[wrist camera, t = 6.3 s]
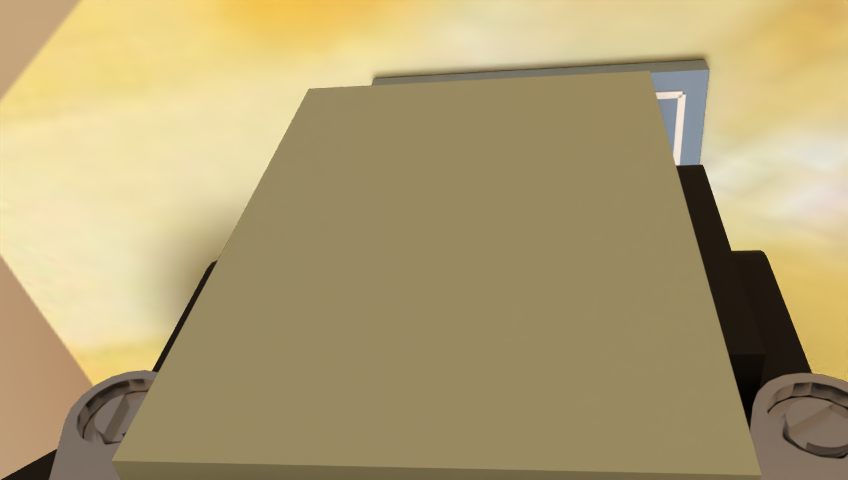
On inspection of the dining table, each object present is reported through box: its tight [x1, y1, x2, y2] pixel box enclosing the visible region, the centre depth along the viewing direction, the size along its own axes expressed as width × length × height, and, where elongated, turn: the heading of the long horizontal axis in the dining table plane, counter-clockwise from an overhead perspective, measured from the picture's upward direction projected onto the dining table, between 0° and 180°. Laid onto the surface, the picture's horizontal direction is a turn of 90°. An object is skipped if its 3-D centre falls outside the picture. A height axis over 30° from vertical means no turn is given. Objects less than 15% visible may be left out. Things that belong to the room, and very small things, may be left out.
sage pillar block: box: [112, 71, 762, 480], centre depth 10 cm, size 5×5×7 cm
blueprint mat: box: [371, 60, 709, 165], centre depth 37 cm, size 14×12×1 cm
